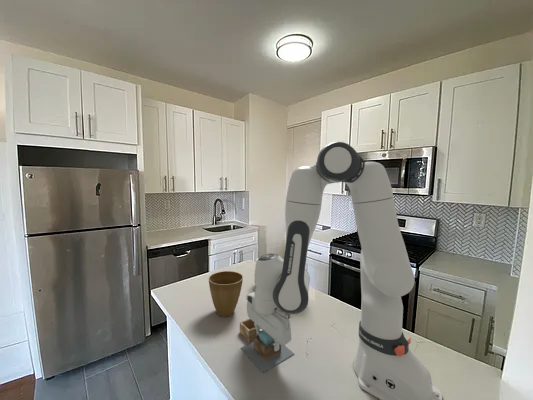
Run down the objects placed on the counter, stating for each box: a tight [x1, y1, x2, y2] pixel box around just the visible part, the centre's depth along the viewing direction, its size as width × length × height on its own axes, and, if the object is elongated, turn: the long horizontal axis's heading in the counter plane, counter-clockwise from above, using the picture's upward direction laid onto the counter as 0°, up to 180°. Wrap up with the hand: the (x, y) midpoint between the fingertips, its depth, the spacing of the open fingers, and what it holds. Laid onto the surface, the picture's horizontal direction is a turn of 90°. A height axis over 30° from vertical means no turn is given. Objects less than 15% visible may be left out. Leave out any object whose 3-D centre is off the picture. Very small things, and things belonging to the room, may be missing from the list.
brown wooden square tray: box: [253, 335, 281, 361], centre depth 78 cm, size 7×7×4 cm
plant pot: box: [208, 270, 244, 318], centre depth 102 cm, size 15×15×16 cm
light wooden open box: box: [239, 318, 264, 343], centre depth 88 cm, size 7×7×4 cm
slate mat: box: [240, 341, 295, 374], centre depth 78 cm, size 13×13×1 cm
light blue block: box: [259, 331, 275, 346], centre depth 78 cm, size 4×4×6 cm
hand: (267, 341), depth 78 cm, fingers open, 8 cm apart
